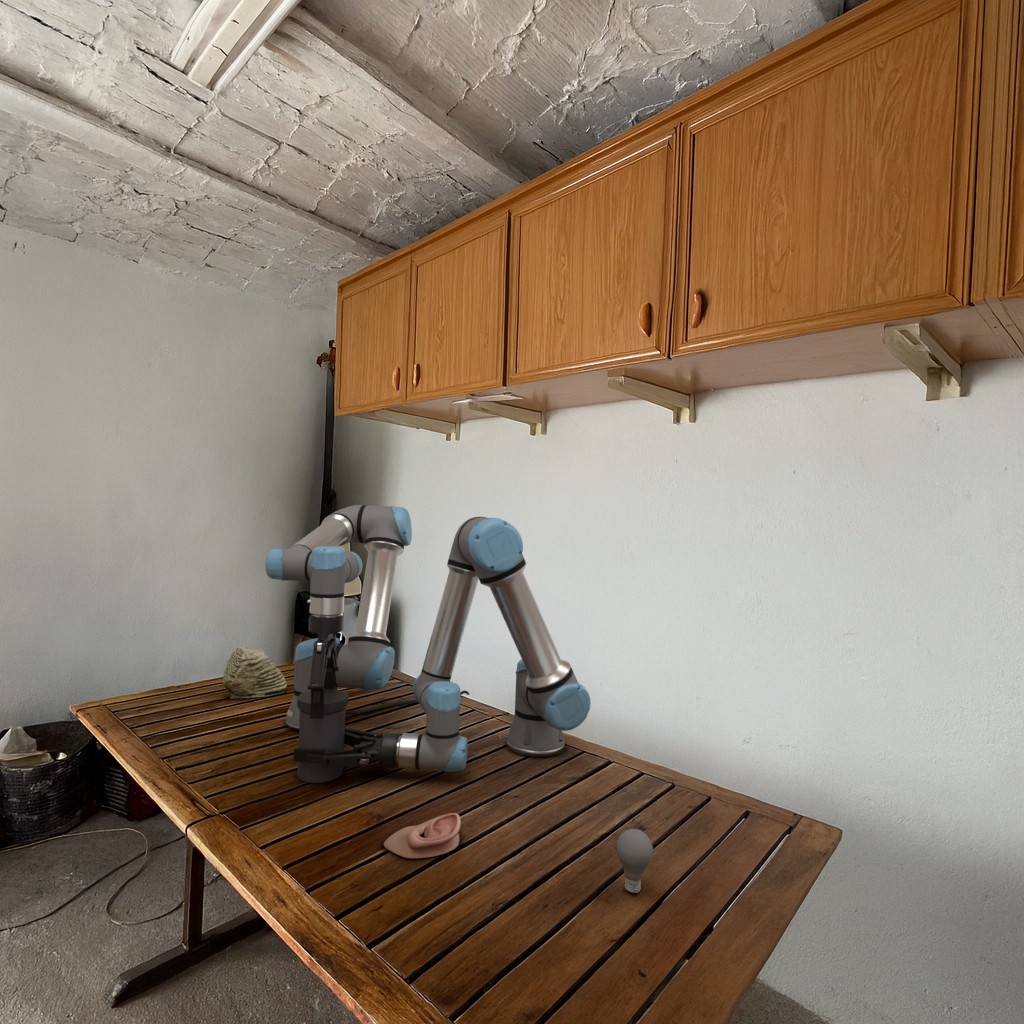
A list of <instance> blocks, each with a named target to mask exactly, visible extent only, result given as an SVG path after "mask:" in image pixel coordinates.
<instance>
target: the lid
mask: <svg viewBox="0 0 1024 1024" xmlns="http://www.w3.org/2000/svg"><path fill="white" fill-rule="evenodd" d="M349 699H350V698H349V693H348V692H346V691H344V690H341V689H337V690H336V689H325V693H324V713H329V712H335V711H339V710H342V709H344V708H345V709H346V708H347V707H348V705H349ZM297 706H298V709H300V710H301V711H304V712H309V713H310V710H311V691H307V692H304V693H302V694H300V695H299V696H298V700H297Z"/></svg>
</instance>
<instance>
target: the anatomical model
mask: <svg viewBox="0 0 1024 1024" xmlns="http://www.w3.org/2000/svg"><path fill="white" fill-rule="evenodd" d="M461 820H462V819H461V816H460V815H459V813H456V812H450V813H446V814H443V815H439V816H437V817H434V818H431V819H428V820H427V821H425V822H423V823H420V824H418V825H409V826H406V827H403V828H400V829H399V830H397V831H395V832H394V833H393V834H391V835H390V836H388V838H386V839H385V841H384V842H383V847H384V848H385V849H386V850H388V851H389V852H391V853H393V854H395V855H396V856H400V857H402V858H405V859H425V858H432V857H436V856H440V855H441V856H442V855H444V854H447V853H449V852H451V851H453V850H456V848H457V847H458V845H459V843H460V834H459V832H460V829H461V826H462V825H461V824H462V822H461Z"/></svg>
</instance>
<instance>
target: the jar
mask: <svg viewBox="0 0 1024 1024" xmlns="http://www.w3.org/2000/svg"><path fill="white" fill-rule="evenodd" d="M345 711H346V707H345V708H344V709H342V710H339V711H335V712H329V713H324V718H323V719H310V713H309V712H304V711H301V710H300V718H299V731H298V747H297V748H305V749H324V748H325V750H326V751H333V750H340V749H345V744H344V733H345V729H346V714H345ZM296 772H297V773H296V775H297V778H298V779H299V780H300V781H303V782H305V783H311V784H318V783H319V784H321V783H327V782H332V781H334V780H337V779H338V778H340V777H341V776H342V775H343V773H344V767H341V768H322V763H312V762H297V771H296Z"/></svg>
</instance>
